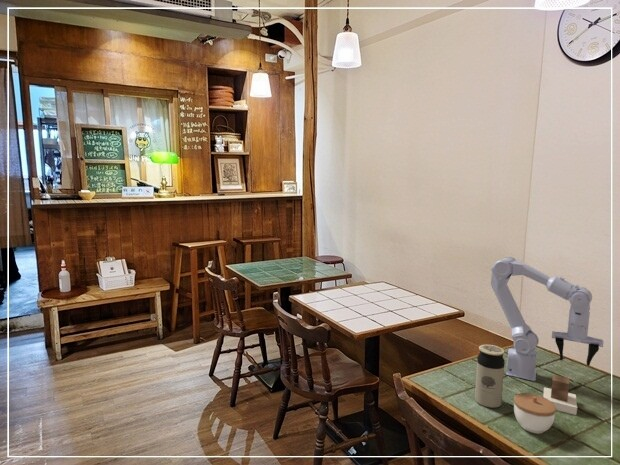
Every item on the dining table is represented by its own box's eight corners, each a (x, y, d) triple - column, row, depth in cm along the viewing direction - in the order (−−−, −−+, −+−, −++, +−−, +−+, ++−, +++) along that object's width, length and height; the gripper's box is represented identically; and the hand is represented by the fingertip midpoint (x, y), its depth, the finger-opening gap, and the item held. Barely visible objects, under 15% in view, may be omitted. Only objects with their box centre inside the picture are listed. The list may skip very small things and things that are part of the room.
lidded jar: (553, 443, 111) (556, 411, 110) (510, 430, 117) (512, 400, 115) (554, 423, 120) (556, 394, 119) (513, 412, 126) (516, 384, 124)
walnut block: (550, 397, 130) (552, 380, 129) (551, 391, 133) (553, 374, 133) (567, 402, 127) (569, 384, 126) (567, 395, 131) (569, 378, 130)
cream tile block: (542, 408, 129) (543, 399, 129) (543, 395, 137) (543, 387, 136) (576, 416, 125) (577, 407, 124) (574, 403, 132) (575, 394, 132)
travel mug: (480, 392, 137) (484, 342, 135) (505, 401, 132) (509, 349, 129) (470, 401, 132) (474, 348, 129) (495, 411, 126) (499, 356, 124)
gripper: (553, 323, 137) (550, 361, 139) (605, 331, 130) (601, 371, 132) (553, 317, 143) (549, 353, 145) (603, 325, 136) (599, 363, 138)
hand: (574, 361), depth 139 cm, fingers open, 7 cm apart
